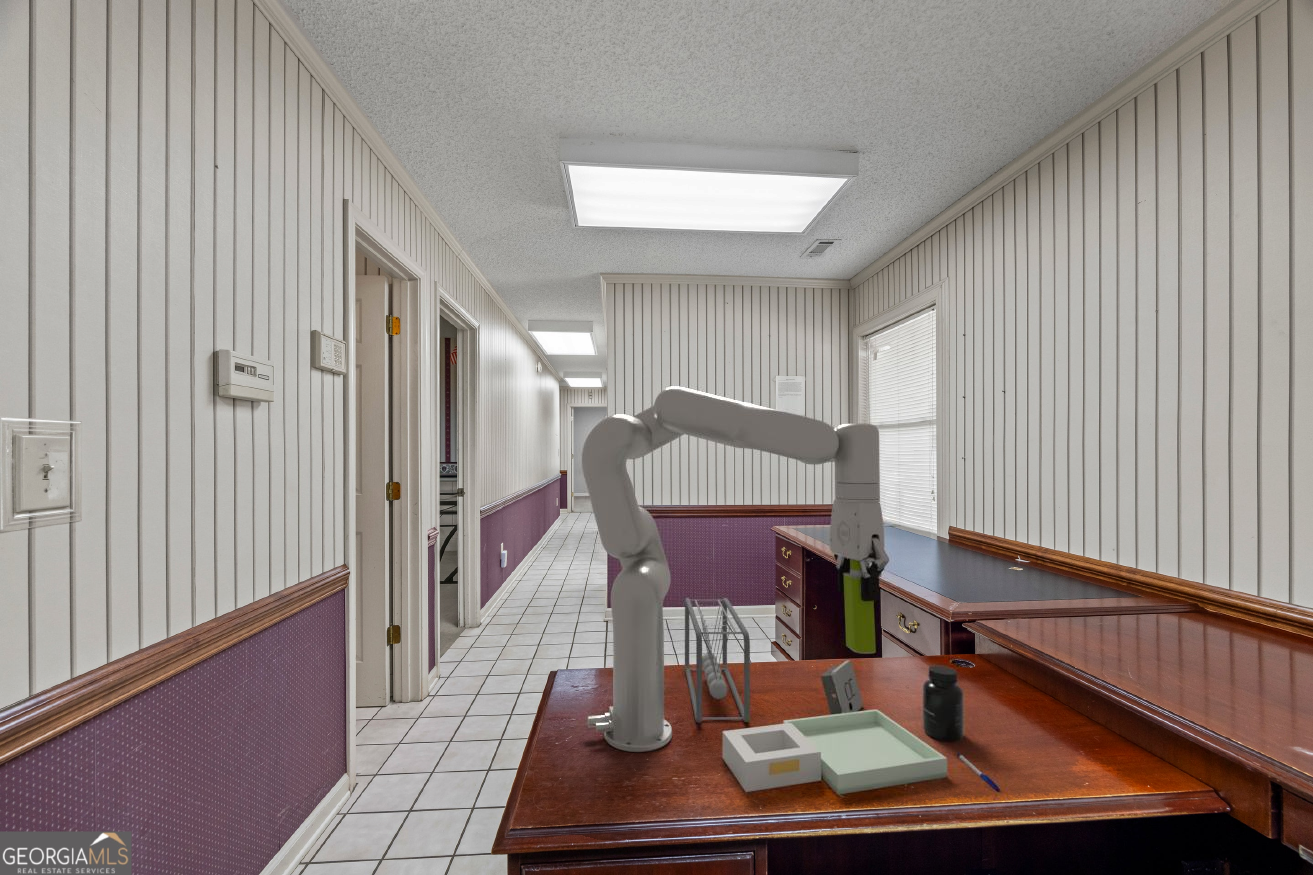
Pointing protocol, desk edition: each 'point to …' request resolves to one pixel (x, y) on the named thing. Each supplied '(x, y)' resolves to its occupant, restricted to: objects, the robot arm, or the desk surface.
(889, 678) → the desk surface
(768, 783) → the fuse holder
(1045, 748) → the desk surface
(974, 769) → the ballpoint pen
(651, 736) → the robot arm
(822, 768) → the parts tray
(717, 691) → the newton's cradle
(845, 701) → the electrical switch
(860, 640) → the vape
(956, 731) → the supplement bottle
